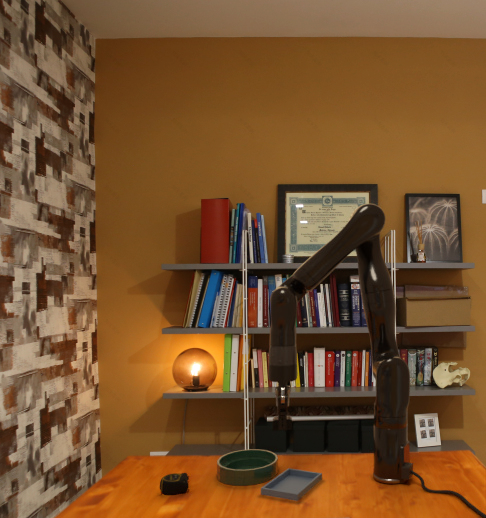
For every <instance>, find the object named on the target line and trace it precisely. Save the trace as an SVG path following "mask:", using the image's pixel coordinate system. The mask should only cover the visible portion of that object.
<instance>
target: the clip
mask: <svg viewBox="0 0 486 518" xmlns="http://www.w3.org/2000/svg"><path fill="white" fill-rule="evenodd" d="M292 430H293V417H292V416H291V415H287V429H286V430H285V431H292ZM272 431H273V432H274V431H275V432H277V431H280V430H278V415H276V416H273V418H272Z"/></svg>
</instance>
